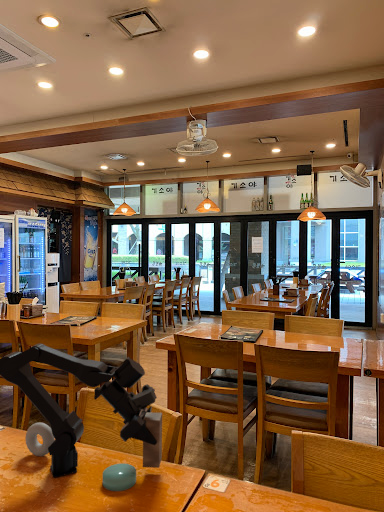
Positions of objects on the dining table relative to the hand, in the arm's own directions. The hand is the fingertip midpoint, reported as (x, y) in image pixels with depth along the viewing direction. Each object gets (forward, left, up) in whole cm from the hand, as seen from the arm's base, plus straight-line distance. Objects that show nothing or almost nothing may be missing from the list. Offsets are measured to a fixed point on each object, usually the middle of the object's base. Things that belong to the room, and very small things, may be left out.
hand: (157, 439), depth 110 cm
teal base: (-11, +1, -10) cm, 15 cm away
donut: (-28, +26, -10) cm, 40 cm away
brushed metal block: (-1, +1, -7) cm, 7 cm away
